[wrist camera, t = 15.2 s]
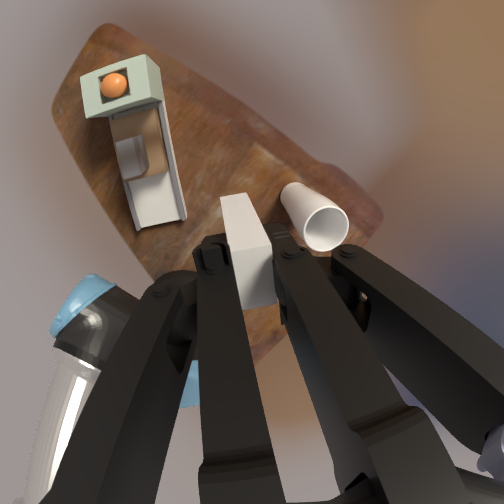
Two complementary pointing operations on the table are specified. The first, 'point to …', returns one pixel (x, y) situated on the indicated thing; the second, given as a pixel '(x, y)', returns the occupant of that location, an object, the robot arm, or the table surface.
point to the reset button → (114, 85)
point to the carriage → (139, 145)
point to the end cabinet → (139, 93)
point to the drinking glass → (314, 217)
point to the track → (155, 183)
